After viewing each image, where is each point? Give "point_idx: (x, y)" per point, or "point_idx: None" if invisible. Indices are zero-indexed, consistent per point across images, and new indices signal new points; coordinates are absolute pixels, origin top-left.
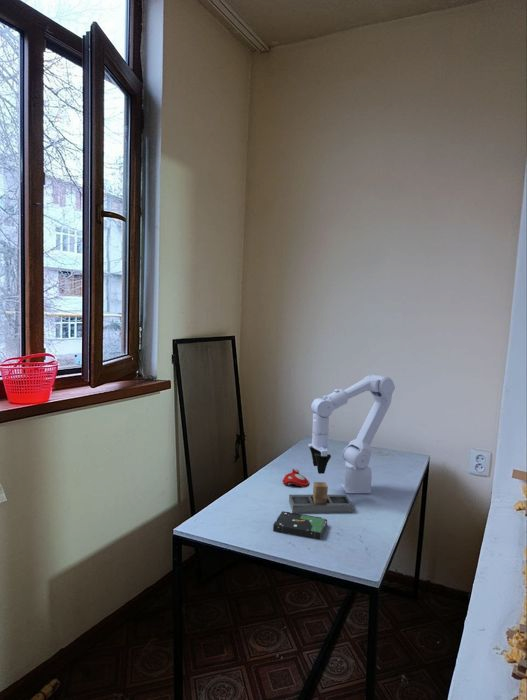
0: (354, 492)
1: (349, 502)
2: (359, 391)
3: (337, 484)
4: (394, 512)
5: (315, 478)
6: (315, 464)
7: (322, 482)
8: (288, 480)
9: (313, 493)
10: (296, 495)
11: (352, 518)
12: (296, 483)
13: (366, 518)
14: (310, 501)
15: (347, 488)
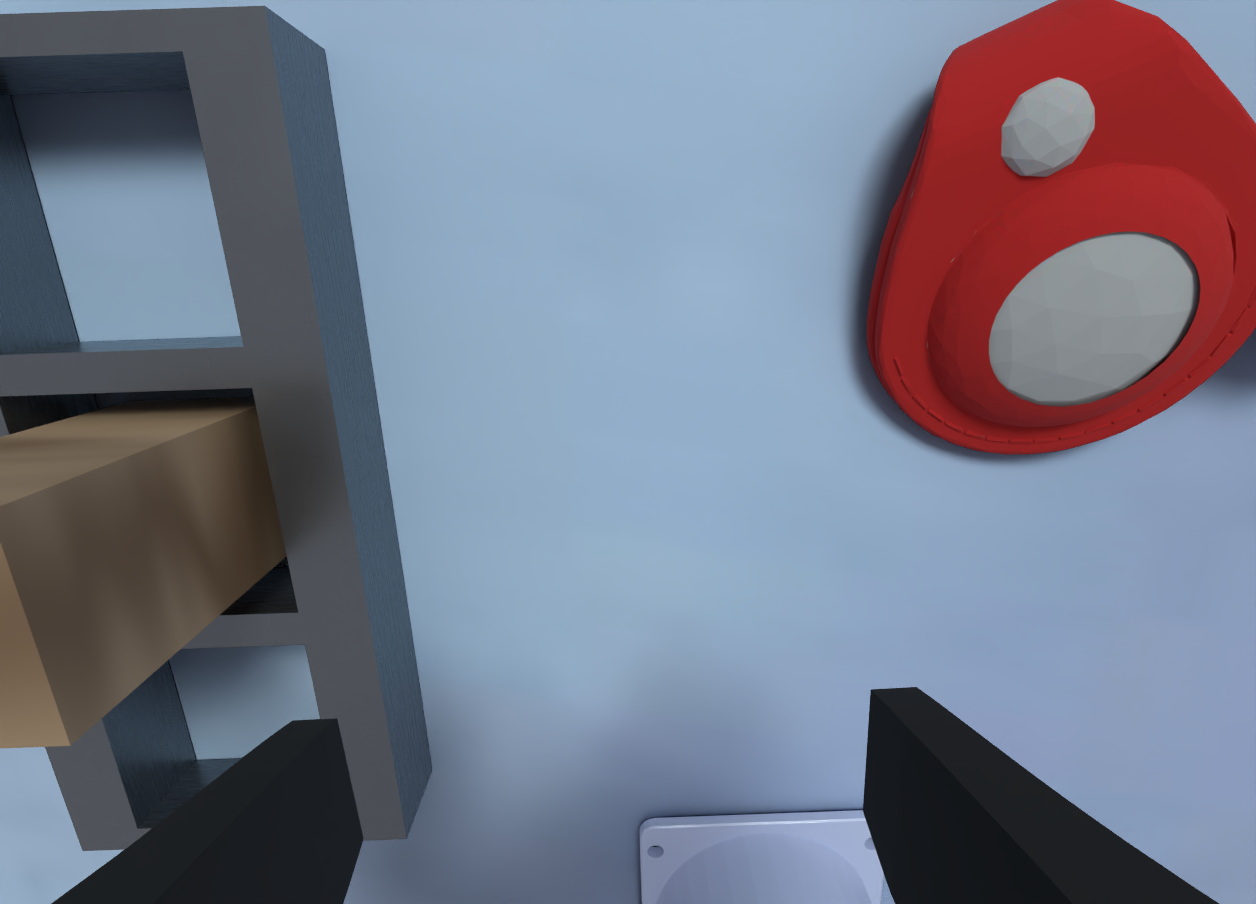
0: (642, 898)
1: None
2: None
3: None
4: None
5: (1160, 564)
6: (885, 756)
7: (32, 692)
8: (965, 85)
9: (146, 439)
10: (251, 150)
11: (5, 754)
12: (891, 243)
13: (46, 868)
14: (56, 358)
15: (708, 866)
